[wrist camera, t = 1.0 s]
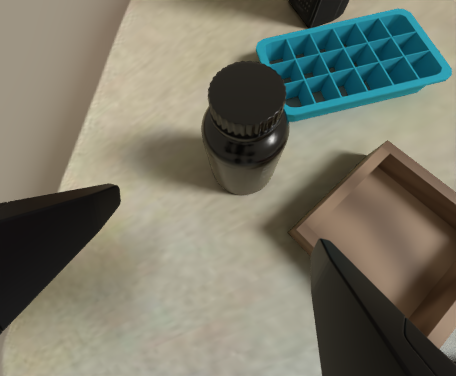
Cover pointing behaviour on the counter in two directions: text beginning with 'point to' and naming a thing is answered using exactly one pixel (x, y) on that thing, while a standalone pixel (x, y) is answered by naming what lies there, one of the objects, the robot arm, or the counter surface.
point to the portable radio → (319, 10)
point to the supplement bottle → (245, 126)
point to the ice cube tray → (354, 52)
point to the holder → (394, 235)
